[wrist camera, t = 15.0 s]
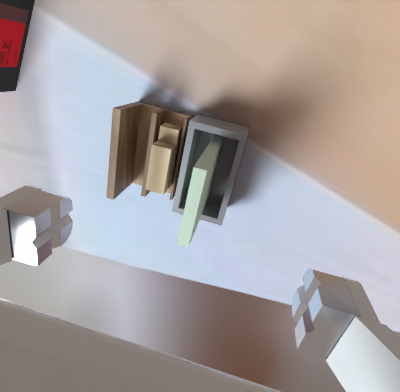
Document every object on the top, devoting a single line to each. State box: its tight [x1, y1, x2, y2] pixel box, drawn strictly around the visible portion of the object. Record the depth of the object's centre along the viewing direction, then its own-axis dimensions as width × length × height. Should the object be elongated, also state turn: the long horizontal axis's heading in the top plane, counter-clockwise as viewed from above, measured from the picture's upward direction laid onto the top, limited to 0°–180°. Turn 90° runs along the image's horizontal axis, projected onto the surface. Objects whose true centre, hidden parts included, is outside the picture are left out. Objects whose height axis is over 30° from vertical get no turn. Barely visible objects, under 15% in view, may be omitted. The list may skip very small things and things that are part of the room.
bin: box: [172, 114, 249, 225], centre depth 48 cm, size 9×16×7 cm, turn 168°
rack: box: [107, 102, 192, 200], centre depth 47 cm, size 10×15×10 cm, turn 168°
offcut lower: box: [158, 123, 183, 190], centre depth 49 cm, size 3×11×3 cm, turn 168°
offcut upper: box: [146, 140, 176, 194], centre depth 47 cm, size 3×8×3 cm, turn 168°
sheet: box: [177, 135, 224, 247], centre depth 42 cm, size 2×11×18 cm, turn 168°
